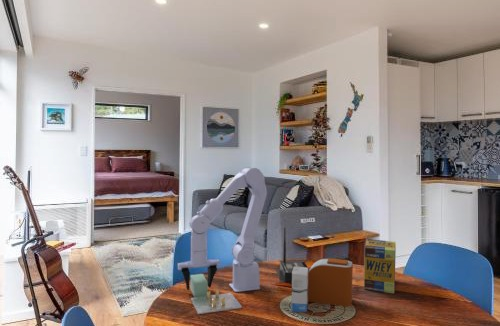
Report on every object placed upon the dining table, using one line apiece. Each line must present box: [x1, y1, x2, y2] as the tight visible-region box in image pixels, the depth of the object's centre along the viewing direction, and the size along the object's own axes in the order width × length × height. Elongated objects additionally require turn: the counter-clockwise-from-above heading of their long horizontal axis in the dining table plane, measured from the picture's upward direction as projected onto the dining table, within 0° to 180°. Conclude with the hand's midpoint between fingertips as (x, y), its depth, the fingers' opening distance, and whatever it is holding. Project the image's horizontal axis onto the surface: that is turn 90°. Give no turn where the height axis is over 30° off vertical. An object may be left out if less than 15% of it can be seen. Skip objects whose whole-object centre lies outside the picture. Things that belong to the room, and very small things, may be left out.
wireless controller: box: [275, 227, 310, 283], centre depth 151 cm, size 20×14×17 cm
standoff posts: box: [207, 289, 225, 307], centre depth 120 cm, size 4×8×2 cm, turn 20°
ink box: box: [291, 267, 309, 313], centre depth 118 cm, size 8×5×12 cm, turn 168°
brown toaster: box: [308, 258, 354, 308], centre depth 124 cm, size 15×8×14 cm, turn 71°
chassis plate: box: [190, 292, 243, 315], centre depth 120 cm, size 14×12×1 cm
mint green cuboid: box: [189, 273, 209, 298], centre depth 131 cm, size 5×9×5 cm, turn 17°
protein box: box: [363, 238, 397, 294], centre depth 139 cm, size 10×15×16 cm
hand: (198, 287), depth 131 cm, fingers open, 7 cm apart
